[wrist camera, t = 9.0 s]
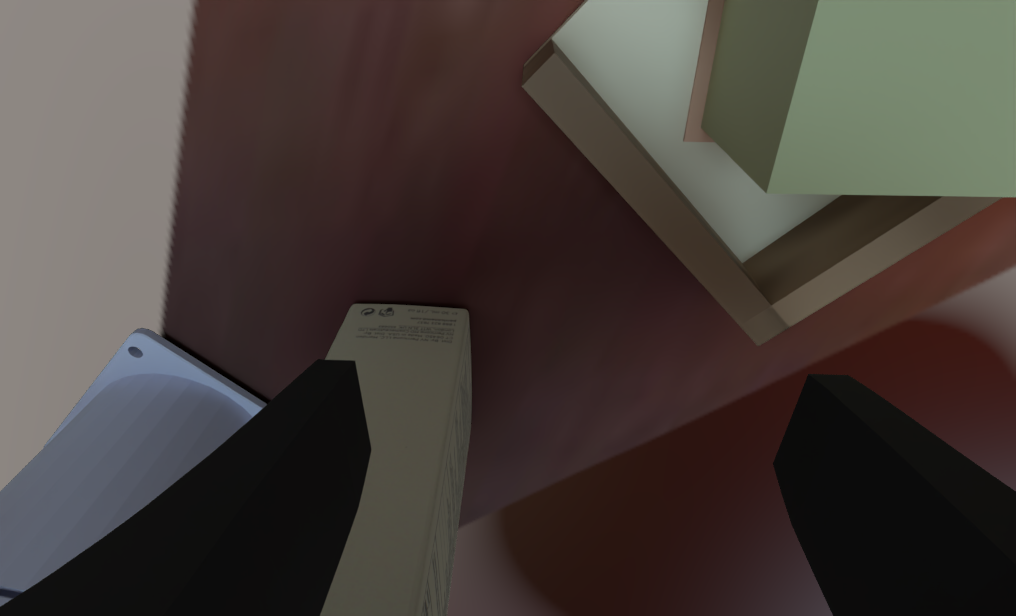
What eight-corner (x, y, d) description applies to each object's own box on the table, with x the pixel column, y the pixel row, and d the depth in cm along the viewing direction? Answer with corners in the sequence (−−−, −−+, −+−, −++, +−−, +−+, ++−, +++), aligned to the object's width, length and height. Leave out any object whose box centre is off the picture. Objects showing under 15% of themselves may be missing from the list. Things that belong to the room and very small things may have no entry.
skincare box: (349, 298, 19) (136, 690, 9) (472, 304, 19) (399, 707, 9) (369, 428, 23) (231, 819, 12) (473, 434, 23) (421, 831, 12)
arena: (727, 293, 18) (758, 346, 16) (523, 64, 15) (521, 86, 12) (1101, 42, 14) (1226, 60, 11) (940, -372, 10) (1072, -479, 8)
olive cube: (886, 129, 15) (1027, 197, 11) (700, 127, 15) (766, 193, 11) (971, -100, 12) (1206, -132, 8) (743, -100, 12) (854, -131, 8)
